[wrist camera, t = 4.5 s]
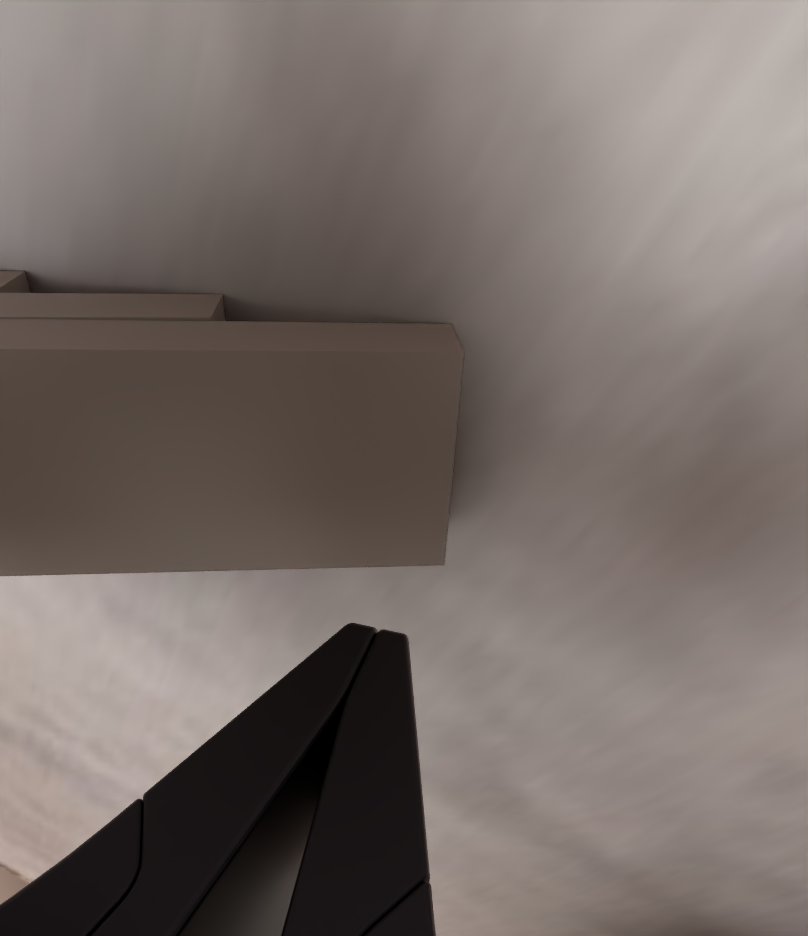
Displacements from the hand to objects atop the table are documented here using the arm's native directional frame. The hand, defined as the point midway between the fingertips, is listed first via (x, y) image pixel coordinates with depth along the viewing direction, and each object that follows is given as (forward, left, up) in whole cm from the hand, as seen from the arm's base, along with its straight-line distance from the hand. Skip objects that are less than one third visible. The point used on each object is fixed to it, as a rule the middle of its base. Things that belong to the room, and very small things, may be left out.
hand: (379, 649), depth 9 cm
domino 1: (0, 0, -6) cm, 6 cm away
